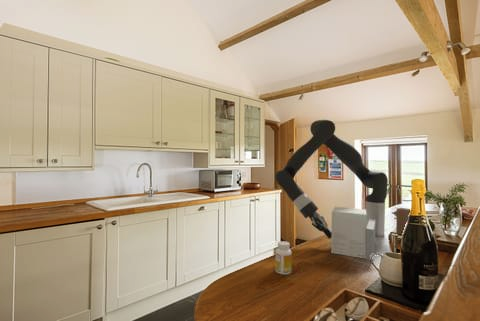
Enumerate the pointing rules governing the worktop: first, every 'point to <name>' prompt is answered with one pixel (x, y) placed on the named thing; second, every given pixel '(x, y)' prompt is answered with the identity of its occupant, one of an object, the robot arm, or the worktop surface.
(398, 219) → the wooden block
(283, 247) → the supplement bottle
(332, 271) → the worktop surface
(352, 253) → the supplement box
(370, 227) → the grey board
